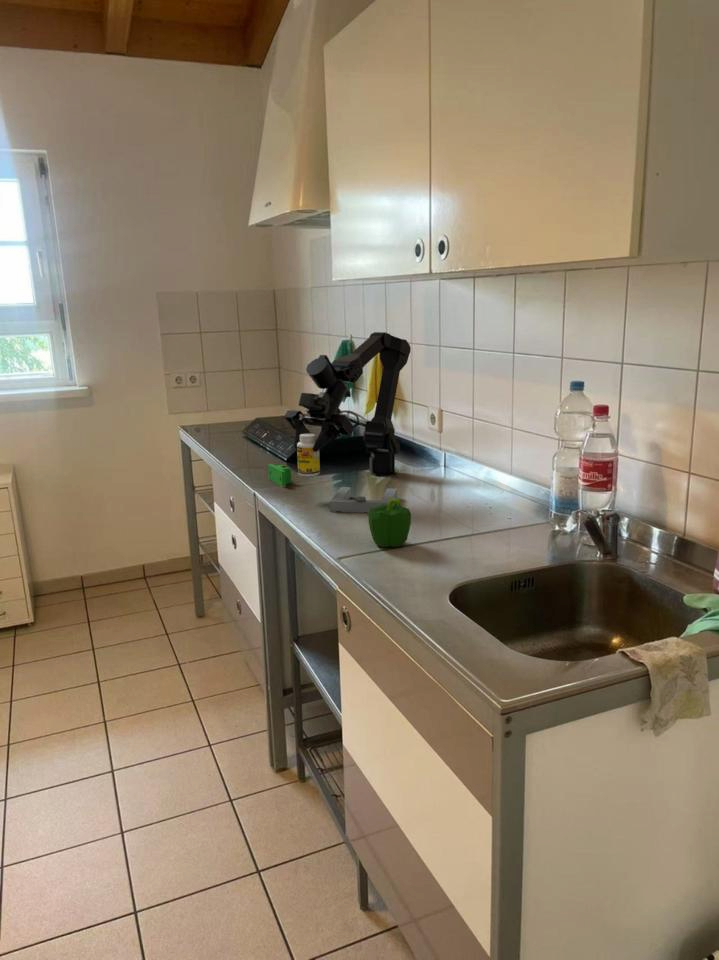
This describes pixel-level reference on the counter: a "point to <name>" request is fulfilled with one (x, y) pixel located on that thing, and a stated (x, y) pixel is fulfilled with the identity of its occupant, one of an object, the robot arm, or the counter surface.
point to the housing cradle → (358, 501)
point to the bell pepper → (389, 524)
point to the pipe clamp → (279, 474)
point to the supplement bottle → (307, 456)
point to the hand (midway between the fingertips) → (304, 449)
